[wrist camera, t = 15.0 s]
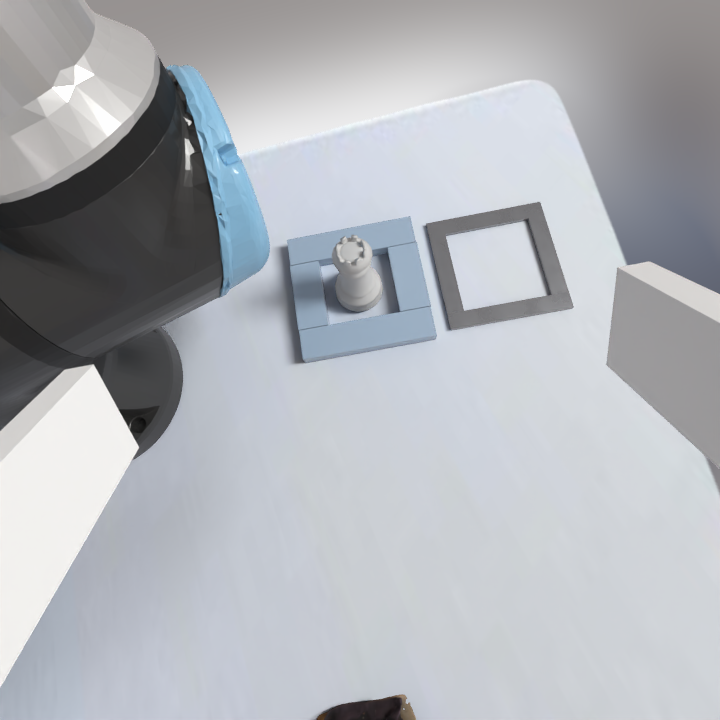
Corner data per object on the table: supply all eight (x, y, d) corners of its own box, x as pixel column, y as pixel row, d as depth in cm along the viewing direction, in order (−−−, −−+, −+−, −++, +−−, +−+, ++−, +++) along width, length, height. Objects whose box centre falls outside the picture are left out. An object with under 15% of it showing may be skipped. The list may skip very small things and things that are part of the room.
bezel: (450, 330, 40) (451, 329, 40) (426, 225, 43) (426, 223, 43) (572, 308, 40) (573, 307, 40) (539, 203, 43) (540, 201, 43)
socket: (304, 362, 41) (302, 359, 39) (289, 246, 44) (286, 240, 43) (436, 339, 40) (437, 334, 39) (410, 223, 43) (410, 216, 42)
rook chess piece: (348, 263, 43) (337, 216, 35) (390, 279, 42) (388, 234, 34) (328, 303, 42) (312, 263, 34) (371, 320, 41) (364, 283, 33)
